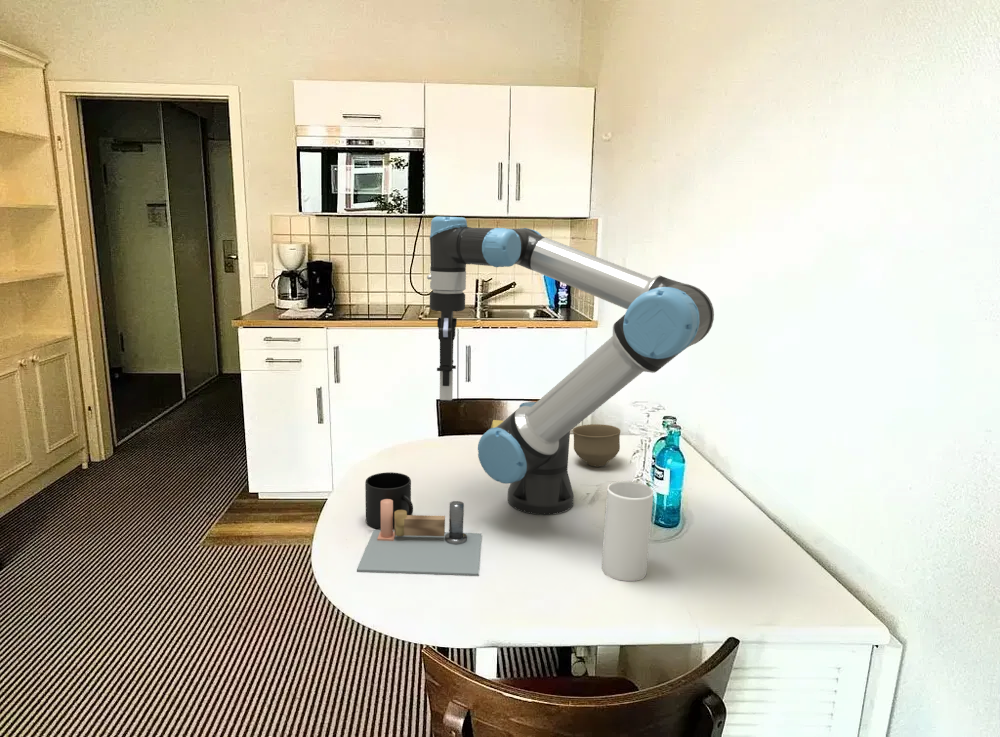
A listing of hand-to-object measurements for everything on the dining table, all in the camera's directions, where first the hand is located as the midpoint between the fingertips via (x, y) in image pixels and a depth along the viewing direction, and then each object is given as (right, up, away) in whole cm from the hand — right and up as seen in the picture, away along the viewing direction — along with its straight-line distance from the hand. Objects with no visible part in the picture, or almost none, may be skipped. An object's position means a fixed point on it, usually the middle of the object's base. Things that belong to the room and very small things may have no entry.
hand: (446, 399), depth 146 cm
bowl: (+37, -19, +33) cm, 53 cm away
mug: (-11, -26, -5) cm, 29 cm away
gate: (-4, -26, -13) cm, 30 cm away
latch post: (-11, -27, -13) cm, 32 cm away
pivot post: (+3, -28, -13) cm, 31 cm away
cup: (+35, -31, -21) cm, 51 cm away
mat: (-3, -29, -18) cm, 34 cm away
